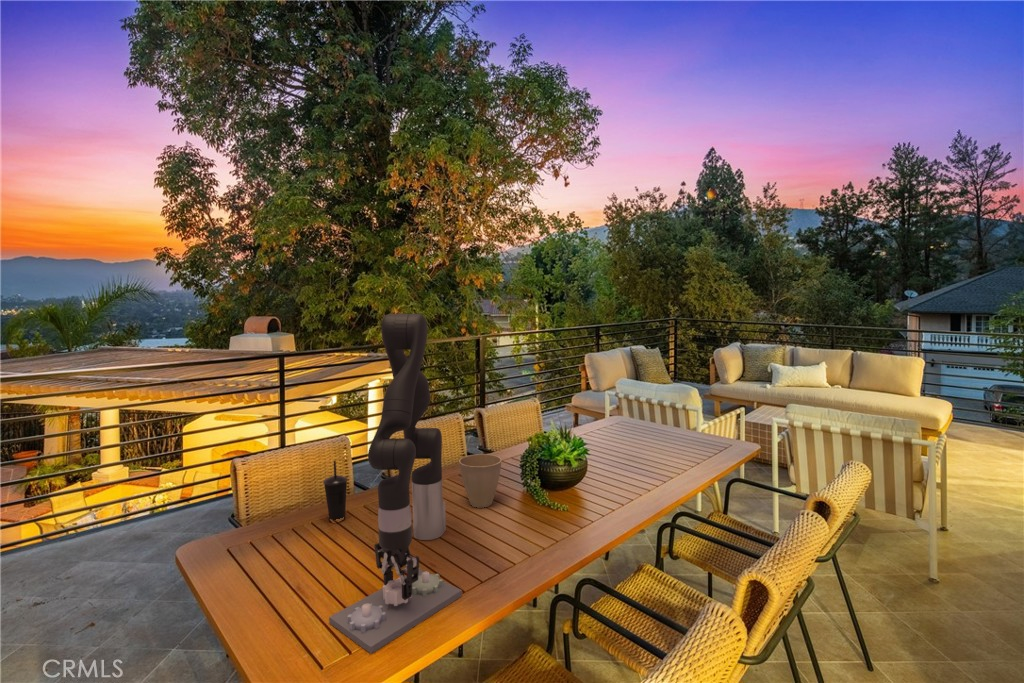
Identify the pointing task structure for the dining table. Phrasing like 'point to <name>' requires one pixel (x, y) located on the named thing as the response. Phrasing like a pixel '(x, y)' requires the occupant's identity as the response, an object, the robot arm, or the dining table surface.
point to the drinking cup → (336, 495)
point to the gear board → (393, 612)
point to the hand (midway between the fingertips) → (397, 592)
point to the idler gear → (393, 592)
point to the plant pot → (480, 478)
